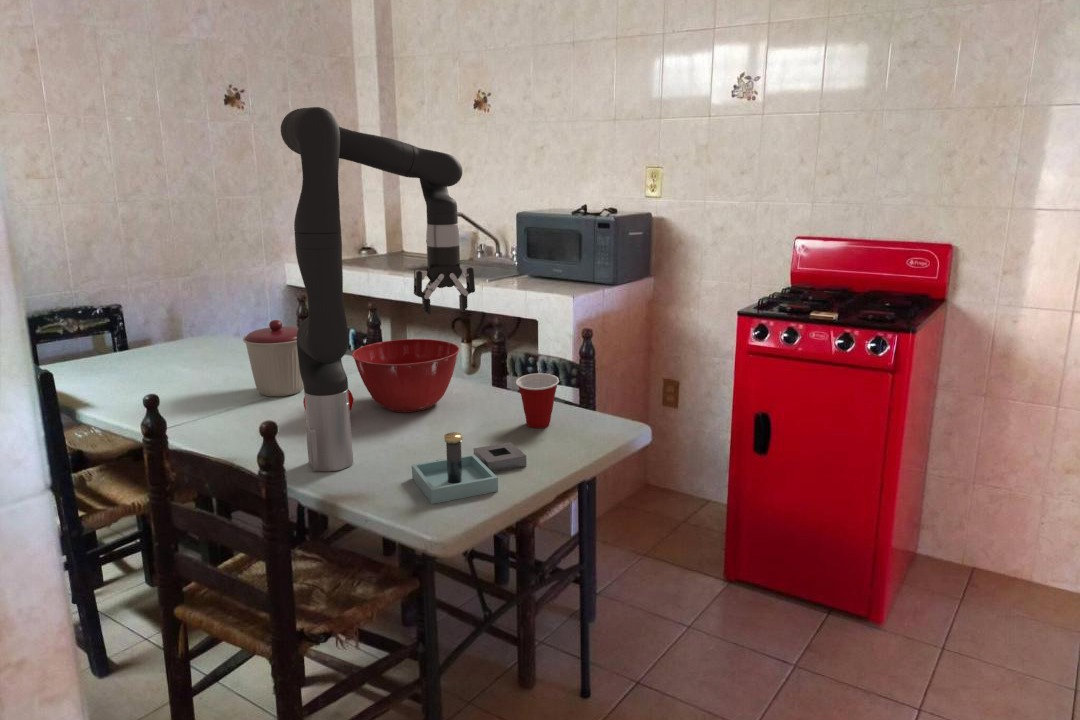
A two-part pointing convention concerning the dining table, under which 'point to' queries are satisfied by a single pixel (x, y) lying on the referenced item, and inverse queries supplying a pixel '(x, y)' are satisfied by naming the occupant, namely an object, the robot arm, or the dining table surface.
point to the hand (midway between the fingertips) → (445, 312)
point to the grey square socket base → (501, 457)
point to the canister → (275, 359)
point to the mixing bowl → (407, 372)
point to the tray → (473, 483)
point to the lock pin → (454, 457)
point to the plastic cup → (538, 398)
